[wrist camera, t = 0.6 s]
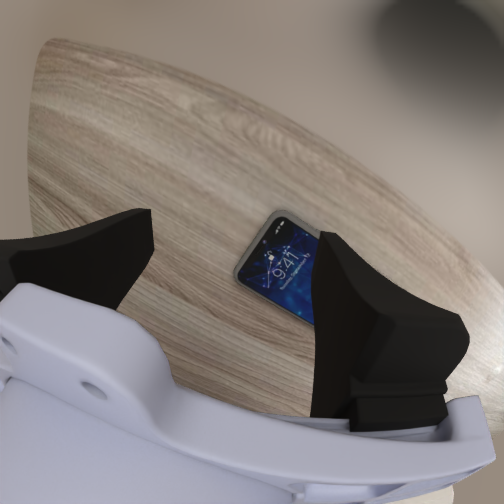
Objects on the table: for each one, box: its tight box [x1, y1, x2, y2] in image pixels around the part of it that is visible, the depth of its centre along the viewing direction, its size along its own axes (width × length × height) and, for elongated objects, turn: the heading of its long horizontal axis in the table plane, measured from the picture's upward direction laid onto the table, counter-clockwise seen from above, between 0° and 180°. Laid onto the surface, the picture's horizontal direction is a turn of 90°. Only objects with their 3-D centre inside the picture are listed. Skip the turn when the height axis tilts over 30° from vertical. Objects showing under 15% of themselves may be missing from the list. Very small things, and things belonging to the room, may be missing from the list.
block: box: [385, 485, 454, 504], centre depth 32 cm, size 15×30×11 cm, turn 60°
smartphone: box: [234, 210, 320, 328], centre depth 23 cm, size 7×1×15 cm
